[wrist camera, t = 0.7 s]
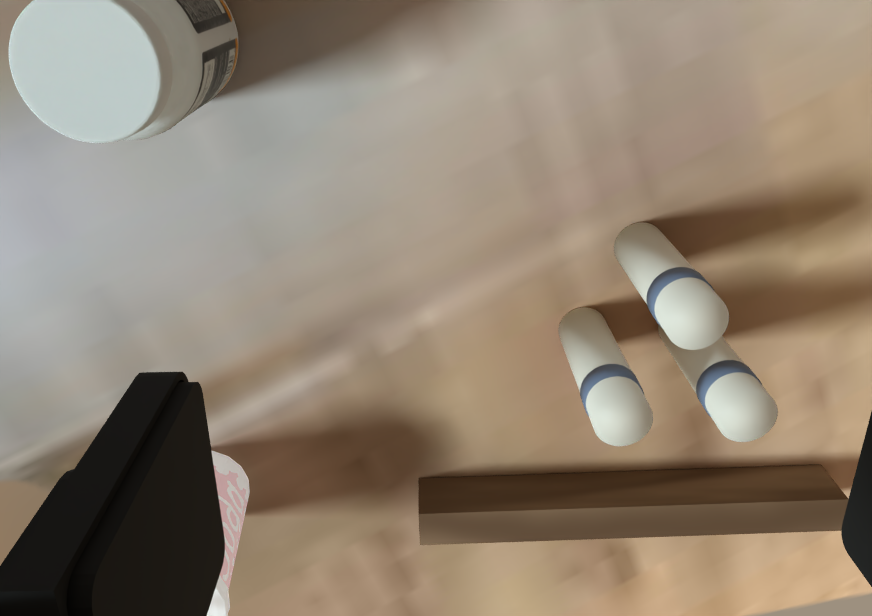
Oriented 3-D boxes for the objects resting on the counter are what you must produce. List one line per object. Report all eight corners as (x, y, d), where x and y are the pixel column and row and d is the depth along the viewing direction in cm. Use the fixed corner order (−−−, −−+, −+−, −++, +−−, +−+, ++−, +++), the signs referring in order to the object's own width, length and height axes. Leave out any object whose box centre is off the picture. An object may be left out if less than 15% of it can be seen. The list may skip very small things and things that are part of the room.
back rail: (418, 478, 42) (418, 514, 40) (821, 464, 43) (848, 499, 40) (420, 508, 43) (420, 545, 41) (814, 494, 43) (841, 530, 41)
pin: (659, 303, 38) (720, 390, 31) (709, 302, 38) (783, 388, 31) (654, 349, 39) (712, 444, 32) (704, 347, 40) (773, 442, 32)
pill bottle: (81, -9, 32) (-51, 3, 23) (210, -55, 32) (125, -61, 23) (143, 123, 34) (44, 182, 25) (264, 83, 34) (207, 128, 25)
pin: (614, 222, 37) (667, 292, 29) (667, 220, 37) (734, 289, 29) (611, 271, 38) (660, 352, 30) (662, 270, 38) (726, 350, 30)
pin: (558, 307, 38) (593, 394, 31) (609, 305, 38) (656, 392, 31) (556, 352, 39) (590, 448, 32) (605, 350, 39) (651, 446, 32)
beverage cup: (276, 521, 43) (216, 755, 31) (169, 537, 44) (66, 775, 31) (247, 429, 41) (169, 642, 28) (135, 446, 41) (7, 665, 28)
